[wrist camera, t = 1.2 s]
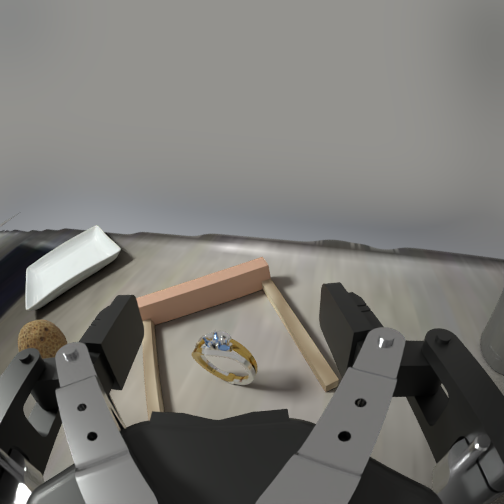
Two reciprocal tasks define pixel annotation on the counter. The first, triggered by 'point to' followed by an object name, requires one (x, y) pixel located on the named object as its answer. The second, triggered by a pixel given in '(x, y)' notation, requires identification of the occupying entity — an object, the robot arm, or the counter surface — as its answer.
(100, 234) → the square plate
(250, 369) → the ring
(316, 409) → the counter surface
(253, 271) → the bar
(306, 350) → the birch track
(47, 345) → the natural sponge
